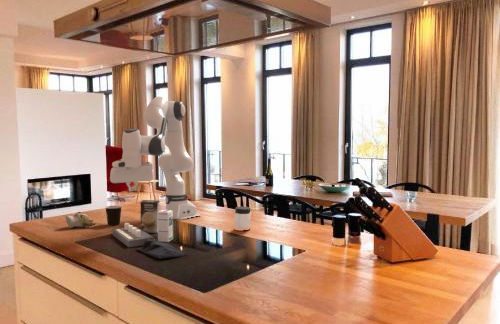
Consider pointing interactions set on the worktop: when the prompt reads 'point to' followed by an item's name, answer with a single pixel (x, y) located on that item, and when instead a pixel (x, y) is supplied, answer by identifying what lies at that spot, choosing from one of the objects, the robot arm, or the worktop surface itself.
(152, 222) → the coffee box
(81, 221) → the ceramic sculpture
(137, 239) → the breaker panel
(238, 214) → the jar
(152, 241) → the dark slate chunk
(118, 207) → the coffee mug
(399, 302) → the worktop surface
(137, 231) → the breaker paddles
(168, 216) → the syrup box
